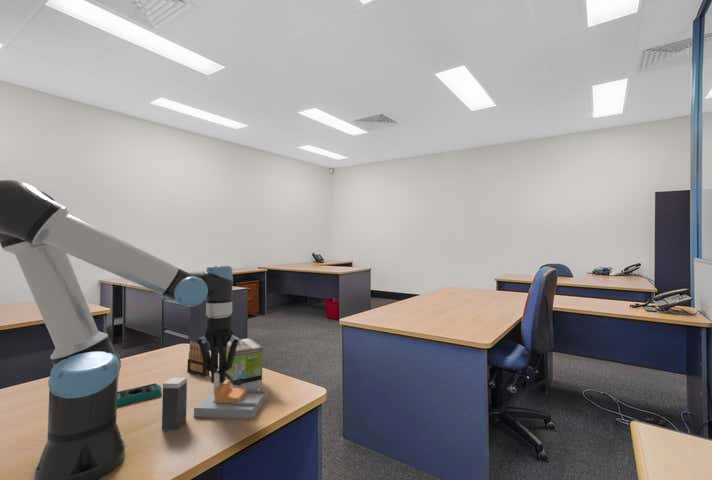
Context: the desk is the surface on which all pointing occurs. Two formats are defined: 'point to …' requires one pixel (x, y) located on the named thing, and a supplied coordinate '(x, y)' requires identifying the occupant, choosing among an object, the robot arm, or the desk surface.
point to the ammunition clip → (196, 360)
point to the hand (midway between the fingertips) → (218, 392)
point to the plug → (174, 403)
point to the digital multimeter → (138, 394)
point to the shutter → (229, 393)
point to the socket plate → (232, 406)
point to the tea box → (246, 365)
